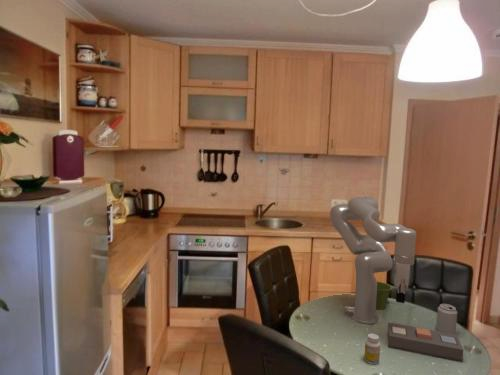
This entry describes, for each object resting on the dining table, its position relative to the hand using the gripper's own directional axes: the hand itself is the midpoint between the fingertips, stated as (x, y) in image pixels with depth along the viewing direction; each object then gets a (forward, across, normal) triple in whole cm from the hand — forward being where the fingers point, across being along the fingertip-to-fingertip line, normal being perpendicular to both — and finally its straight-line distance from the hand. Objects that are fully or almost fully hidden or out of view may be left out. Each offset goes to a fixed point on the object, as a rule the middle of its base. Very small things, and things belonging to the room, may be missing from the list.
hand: (400, 301), depth 143 cm
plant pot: (+18, -32, -7) cm, 38 cm away
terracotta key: (+15, +1, +10) cm, 17 cm away
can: (+17, -16, +21) cm, 32 cm away
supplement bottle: (+17, +19, -9) cm, 27 cm away
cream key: (+16, +1, +1) cm, 16 cm away
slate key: (+16, +1, +19) cm, 24 cm away
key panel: (+17, +1, +10) cm, 20 cm away
